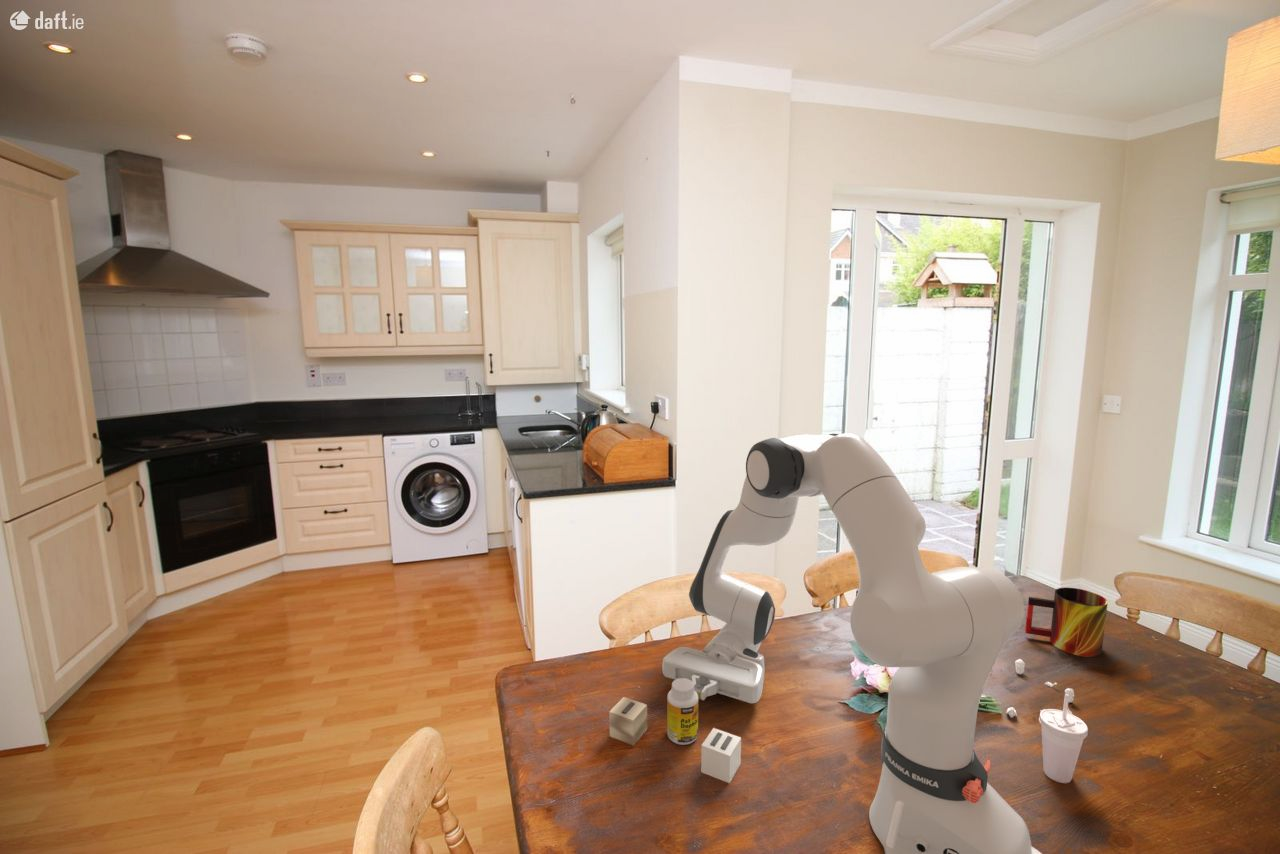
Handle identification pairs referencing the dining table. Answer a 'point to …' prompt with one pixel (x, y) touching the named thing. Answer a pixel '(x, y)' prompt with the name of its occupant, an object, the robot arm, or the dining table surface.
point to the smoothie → (1061, 742)
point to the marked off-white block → (721, 755)
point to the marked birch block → (628, 720)
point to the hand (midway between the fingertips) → (696, 694)
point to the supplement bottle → (682, 712)
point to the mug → (1073, 621)
